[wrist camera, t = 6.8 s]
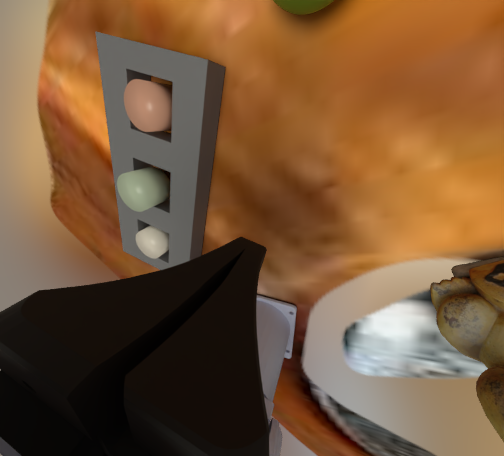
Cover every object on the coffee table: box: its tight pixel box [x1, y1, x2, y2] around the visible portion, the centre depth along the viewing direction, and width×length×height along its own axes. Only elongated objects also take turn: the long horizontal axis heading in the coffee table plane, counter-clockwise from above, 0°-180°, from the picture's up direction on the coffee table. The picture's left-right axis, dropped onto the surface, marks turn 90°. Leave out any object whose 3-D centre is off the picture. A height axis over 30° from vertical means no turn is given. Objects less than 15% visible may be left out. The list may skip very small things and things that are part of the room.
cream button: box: [136, 225, 169, 259], centre depth 25 cm, size 4×4×3 cm
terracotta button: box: [124, 79, 172, 132], centre depth 18 cm, size 4×4×3 cm
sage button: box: [117, 166, 170, 212], centre depth 20 cm, size 4×4×3 cm
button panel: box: [96, 32, 225, 270], centre depth 22 cm, size 22×10×2 cm, turn 166°
